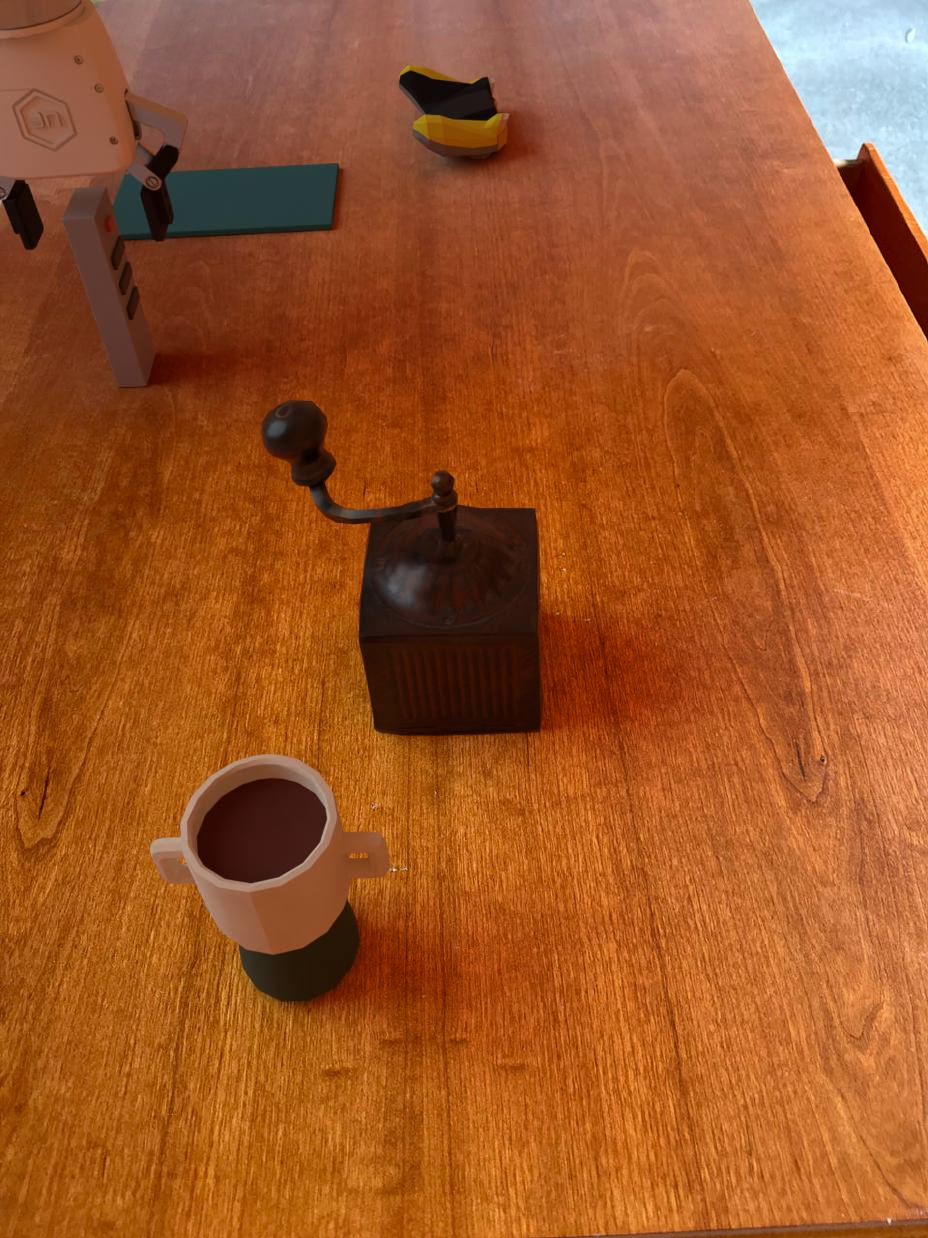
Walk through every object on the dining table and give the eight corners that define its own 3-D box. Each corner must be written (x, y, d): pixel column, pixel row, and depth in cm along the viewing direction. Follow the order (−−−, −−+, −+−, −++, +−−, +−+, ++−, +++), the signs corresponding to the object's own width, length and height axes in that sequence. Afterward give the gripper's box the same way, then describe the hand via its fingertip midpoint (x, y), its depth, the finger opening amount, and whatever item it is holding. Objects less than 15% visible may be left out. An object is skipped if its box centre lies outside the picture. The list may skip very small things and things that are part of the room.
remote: (117, 387, 94) (61, 218, 82) (127, 354, 97) (74, 187, 85) (150, 386, 94) (98, 217, 82) (159, 352, 97) (110, 185, 85)
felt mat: (103, 240, 109) (101, 235, 109) (125, 179, 117) (124, 173, 117) (331, 229, 109) (331, 223, 108) (339, 168, 117) (338, 162, 116)
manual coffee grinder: (540, 599, 76) (541, 378, 62) (544, 735, 69) (546, 518, 55) (308, 603, 77) (260, 385, 63) (288, 737, 69) (228, 524, 56)
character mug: (407, 885, 62) (384, 748, 53) (403, 1013, 58) (377, 888, 48) (209, 891, 63) (150, 756, 53) (190, 1018, 58) (121, 896, 48)
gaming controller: (418, 179, 114) (516, 166, 115) (414, 125, 110) (515, 112, 111) (399, 112, 124) (490, 101, 125) (395, 60, 120) (488, 49, 121)
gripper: (-134, 24, 71) (-28, 270, 84) (141, 4, 70) (205, 255, 83) (-96, -21, 76) (-2, 218, 89) (161, -39, 75) (219, 203, 88)
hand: (98, 236), depth 86 cm, fingers open, 9 cm apart
